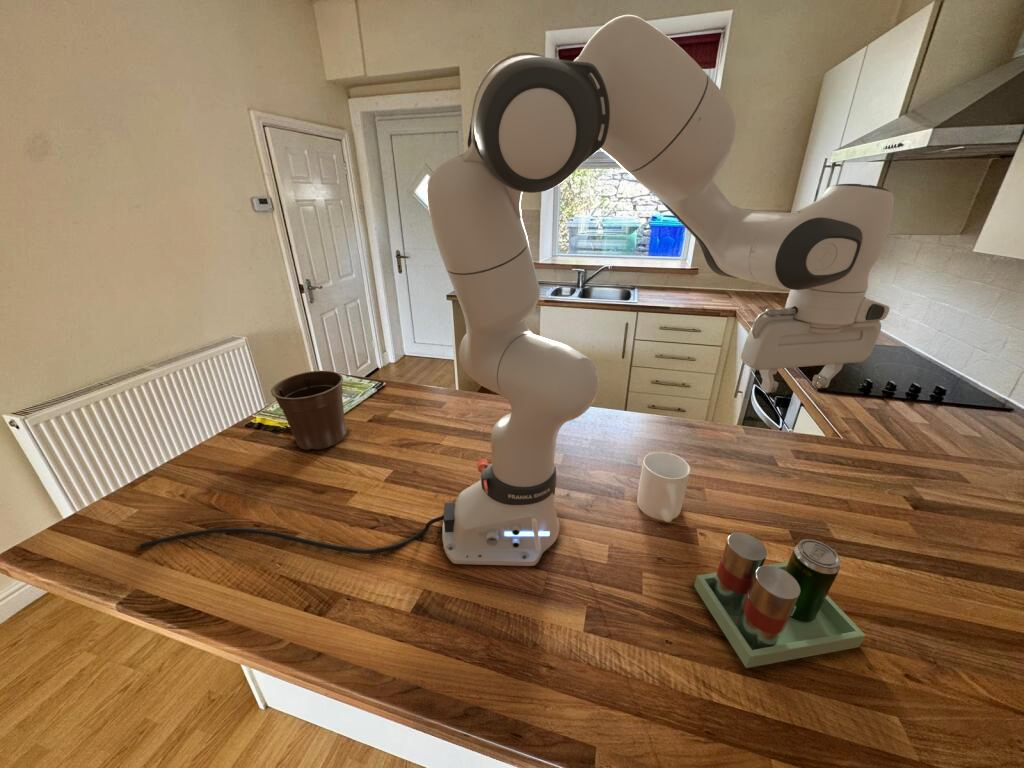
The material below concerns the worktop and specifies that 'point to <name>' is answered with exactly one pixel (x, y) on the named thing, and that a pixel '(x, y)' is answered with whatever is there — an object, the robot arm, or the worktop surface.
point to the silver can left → (738, 571)
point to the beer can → (812, 577)
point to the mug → (662, 485)
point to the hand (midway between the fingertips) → (793, 388)
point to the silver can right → (767, 606)
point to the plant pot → (313, 408)
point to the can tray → (785, 630)
